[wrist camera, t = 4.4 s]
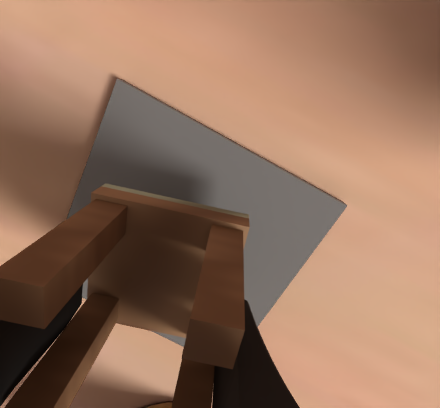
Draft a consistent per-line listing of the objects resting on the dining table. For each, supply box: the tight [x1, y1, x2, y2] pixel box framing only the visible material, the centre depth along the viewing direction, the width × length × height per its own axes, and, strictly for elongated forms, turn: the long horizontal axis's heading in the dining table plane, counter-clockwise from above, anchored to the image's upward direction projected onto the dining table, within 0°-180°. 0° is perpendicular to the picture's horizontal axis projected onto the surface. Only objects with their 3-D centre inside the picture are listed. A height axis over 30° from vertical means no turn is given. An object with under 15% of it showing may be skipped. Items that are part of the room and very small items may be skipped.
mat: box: [66, 79, 347, 347], centre depth 15 cm, size 12×12×1 cm
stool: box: [0, 184, 250, 408], centre depth 10 cm, size 6×6×6 cm
